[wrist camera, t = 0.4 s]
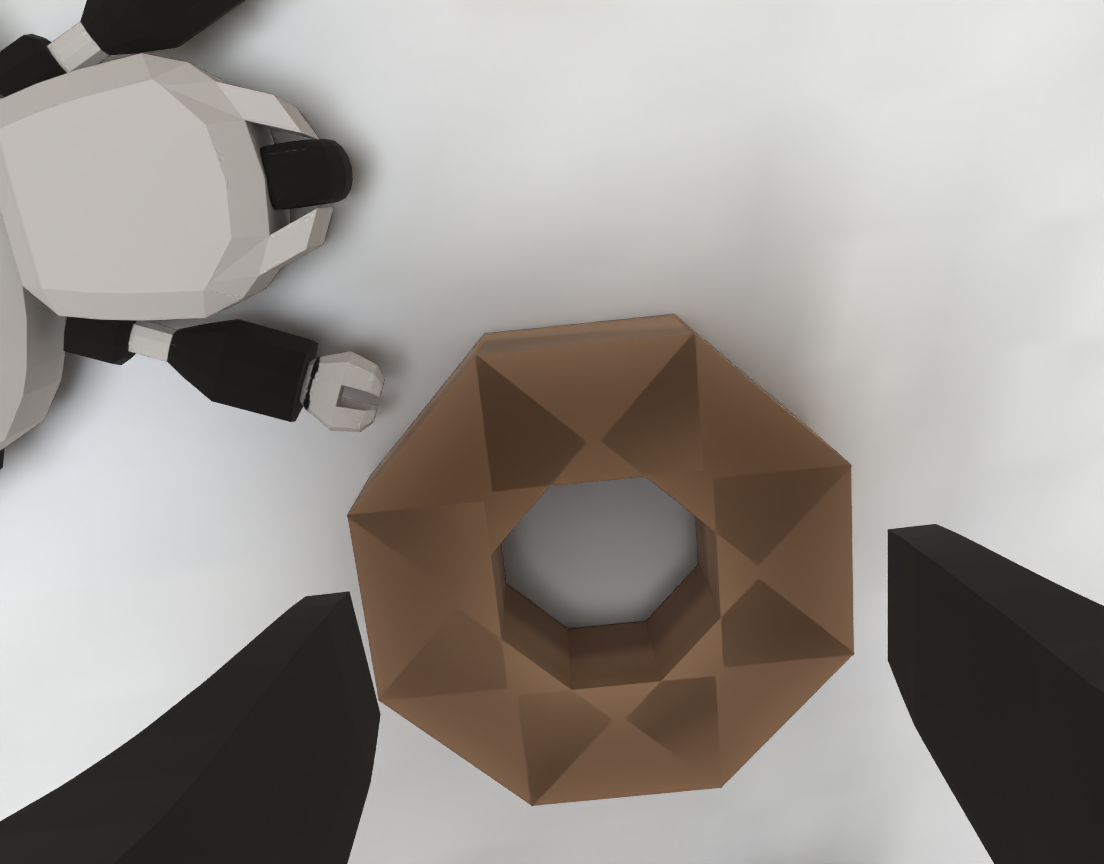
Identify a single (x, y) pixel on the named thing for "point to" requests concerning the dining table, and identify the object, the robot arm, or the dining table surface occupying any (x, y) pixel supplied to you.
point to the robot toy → (157, 219)
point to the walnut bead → (621, 649)
